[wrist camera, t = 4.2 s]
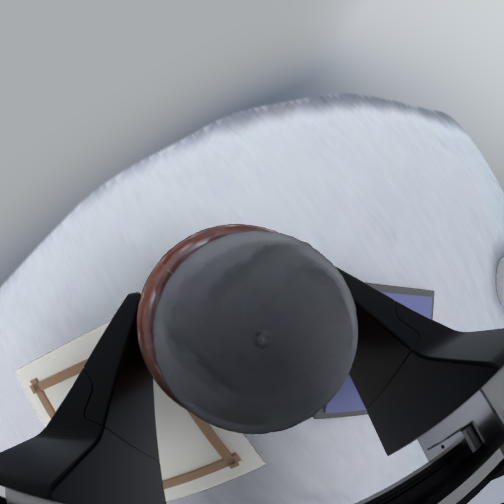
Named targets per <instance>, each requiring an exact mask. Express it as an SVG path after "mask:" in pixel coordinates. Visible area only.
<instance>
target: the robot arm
mask: <svg viewBox="0 0 504 504" xmlns="http://www.w3.org/2000/svg"><path fill="white" fill-rule="evenodd" d="M336 268H337V267H336ZM337 270H338V271H339V272H340V274H341V275H342V276H343V278H344V280H345V282H346V284H347V286H348V288H349V290H350V292H351V295H352V298H353V300H354V304H355V307H356V316H357V323H358V342H357V350H356V354H355V358H354V361H353V363H352V367H351V369H350V372H349V375H350V377H351V379H352V381H353V383H354V385H355V388H356V390H357V392H358V394H359V396H360V398H361V400H362V402H363V404H364V406H365V408H366V410H367V413H368V415H369V417H370V419H371V421H372V423H373V426H374V428H375V430H376V432H377V434H378V436H379V438H380V441H381V443H382V445H383V447H384V449H385V452H386V454H387V455H388V456H389V455H391V454H393V453H395V452H396V451H398V450H400V449H402V448H403V447H405V446H407V445H408V444H410V443H412V442H413V441H415V440H416V439H417V440H418V442H419V444H420V446H421V448H422V450H423V451H424V453H425V456H426V458H427V460H428V461H429V462H428V463H426V464H425V465H423V466H422V467H420V468H419V469H417V470H416V471H414V472H413V473H411V474H409V475H408V476H406V477H404V478H403V479H401V480H399V481H398V482H396V483H394V484H393V485H391V486H389V487H387V488H385V489H383V490H382V491H380V492H378V493H376V494H374V495H372V496H370V497H368V498H366V499H364V500H362V501H359V502H357V503H355V504H467V503H468V502H469V501H470V500H471V499H472V498H473V497H475V496H476V495H477V494H478V493H479V492H480V491H481V490H482V489H483V488H484V487H485V486H486V485H487V484H488V483H489V482H490V481H491V480H493V479H496V478H498V477H501V476H503V475H504V328H503V329H495V330H486V331H477V332H459V331H455V330H453V329H450V328H448V327H446V326H444V325H442V324H440V323H438V322H436V321H434V320H431V319H429V318H427V317H425V316H423V315H421V314H419V313H417V312H415V311H413V310H412V309H410V308H408V307H406V306H404V305H403V304H401V303H399V302H397V301H394V299H392V298H390V297H389V296H387V295H385V294H383V293H382V292H380V291H378V290H376V289H375V288H373V287H371V286H369V285H367V284H366V283H364V282H362V281H360V280H359V279H357V278H355V277H353V276H351V275H350V274H348V273H346V272H344V271H342V270H341V269H339V268H337ZM140 298H141V294H140V293H139V292H136V293H130V294H128V295H127V297H126V298H125V300H124V301H123V303H122V304H121V306H120V307H119V309H118V311H117V312H116V314H115V315H114V317H113V318H112V320H111V322H110V323H109V325H108V326H107V328H106V330H105V331H104V333H103V334H102V336H101V338H100V339H99V341H98V343H97V344H96V346H95V348H94V349H93V351H92V353H91V355H90V356H89V358H88V360H87V361H86V363H85V365H84V368H82V370H81V372H80V374H79V375H78V377H77V379H76V381H75V382H74V384H73V386H72V388H71V389H70V391H69V392H68V394H67V395H66V397H65V398H64V400H63V401H62V403H61V405H60V406H59V408H58V409H57V411H56V412H55V414H54V415H53V417H52V418H51V420H50V421H49V423H48V424H47V426H46V427H45V428H44V430H43V431H42V432H41V433H40V434H38V435H37V436H35V437H33V438H31V439H29V440H27V441H25V442H23V443H21V444H18V445H16V446H14V447H12V448H10V449H7V450H5V451H3V452H0V485H1V486H4V487H5V491H6V492H5V493H6V498H5V497H2V496H0V504H166V499H165V493H164V487H163V481H162V474H161V467H160V463H159V462H160V460H159V451H158V442H157V432H156V420H155V406H154V388H153V377H152V375H151V374H150V372H149V370H148V368H147V366H146V364H145V362H144V360H143V357H142V353H141V350H140V346H139V343H138V334H137V312H138V304H139V301H140ZM501 504H504V503H501Z"/></svg>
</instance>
